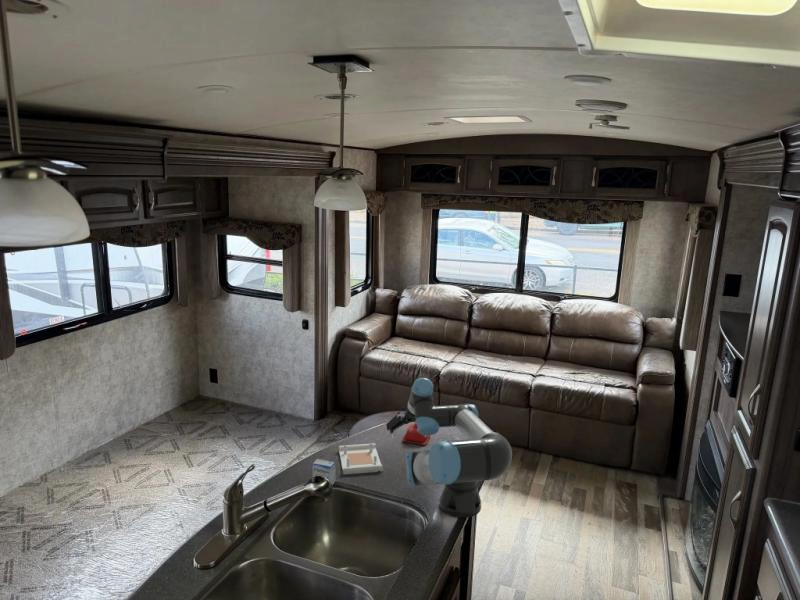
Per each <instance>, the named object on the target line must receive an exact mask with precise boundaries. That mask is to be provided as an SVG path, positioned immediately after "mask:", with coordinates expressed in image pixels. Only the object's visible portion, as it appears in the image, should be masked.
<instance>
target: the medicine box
mask: <svg viewBox="0 0 800 600" xmlns="http://www.w3.org/2000/svg"><path fill="white" fill-rule="evenodd" d="M315 476H323V477H326V478H327V479H329V481H330V482H331V484H332V486H333V485H334V484H335V482H336V461H333V460H331V461H330V460H326V459H320V458H316V459H315V461H314V462H313V463H312V478H313V477H315Z"/></svg>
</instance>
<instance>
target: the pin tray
mask: <svg viewBox="0 0 800 600" xmlns="http://www.w3.org/2000/svg"><path fill="white" fill-rule="evenodd" d="M376 445H377V444H376V443H373V442H371V443H361V444H346V445H343V444H342V445H339V446H338V452H339V453H338V454H339V458H340V464H341V469H342V475H354V474H355V475H356V474H365V473H366V474H367V473H377V472H378V471H380V472H383V470H384V468H383V467H384V466H383V464H382V463H381V460H380V457H379V454H378V451H377V447H376Z"/></svg>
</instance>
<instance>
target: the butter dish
mask: <svg viewBox="0 0 800 600" xmlns="http://www.w3.org/2000/svg"><path fill="white" fill-rule="evenodd" d="M430 437H431V435H430V436H427V437H425V436H424V435H422V434H420V433H419V431H418V427H417V424H416V422H413V423H411V424H410V425H409V426H408V428H407V429H406V432H405V434H404V436H403V437H402V440H401V441H402V442H404V443H405V442H407V443H413V444H418V445H426V444H427V443H428V442H429V439H430Z"/></svg>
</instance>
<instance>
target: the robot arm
mask: <svg viewBox="0 0 800 600" xmlns="http://www.w3.org/2000/svg"><path fill="white" fill-rule="evenodd" d="M433 393H434V383H433V382H432V381H431V380H430V379H429V378H425V377H418V378H417V379H416V380H414V382H413V384H412V386H411V390H410V395H409V398H408V401H407V406H406V409H405V412H404V413H401V412H399V411H398V412H397V413H396V415H395V416H394V417H393V418H391V419H390V420H389V421H388V422H387V423H386V424H385V425H386V430H387V431H389V434H390V435H391V439H392V440H394V439H395V436H396V432H397V429H399V428H401V427H402V426H405V425H408V424H409V423H415V422H416V424H417V427H418V431H419V433H420V434H422V435H424V436H425V437H427V436H430V437H431V436H432V435H436V434H437V433H438V432H439V430H440V428H450V427H451V428H453V427H454V428H455V427H456V428H457V429H458V430H459V431H460V432H461V433H462V434H463V436H464V437H465V438H466V439H453V440H452V439H451V440H445V439H444V440H443V439H442V440H440V441H436V442H434V443H432V444H431V446H430V448H429V449H424V450H420V451H418V450H417V451H414V450H413V451H412V450H411V451H410V452H409V451H408V452H407V453H406V454H405V470H406V480H407V484H408V486H410V487H416V488H417V487H421V486H430V485H432V486H433V485H444V487H443V489H442V491H441V494H440V496H439V508H440V510H442V512H444V513H445V514H446V515H449V516H450V517H455V518H461V519H462V518H463V519H468V518H472V517H474V516H477V515H478V514H479V513H480V512H481V510H482V498H481V497H480V493H479V490H478V482H481V481H482V482H483V481H492V480H495V479H499V477H502V476H503V474H505V473H506V471H508V469H509V468H510V465H511V463H512V460H513V459H512V458H513V449H512V447H511V444H510V443H509V441H508V439H506V438H505V436H503V435H502V434H501V433H499V432H494V431H493V430H492V429H491V428H490V427H489V426H487V424H485V422H484V421H482V420H481V418H480V417H479V411H478V409H477V406H476V405H475V404H473V403H472V404H471V403H463V404H462V403H461V404H450V405H449V404H448V405H435V402H434V397H433Z"/></svg>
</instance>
